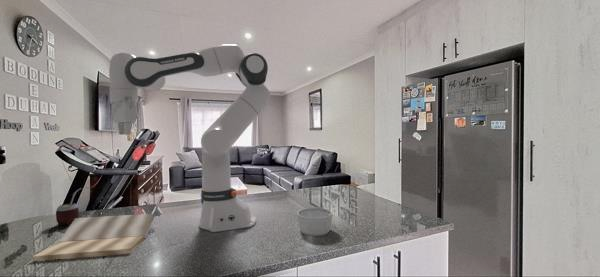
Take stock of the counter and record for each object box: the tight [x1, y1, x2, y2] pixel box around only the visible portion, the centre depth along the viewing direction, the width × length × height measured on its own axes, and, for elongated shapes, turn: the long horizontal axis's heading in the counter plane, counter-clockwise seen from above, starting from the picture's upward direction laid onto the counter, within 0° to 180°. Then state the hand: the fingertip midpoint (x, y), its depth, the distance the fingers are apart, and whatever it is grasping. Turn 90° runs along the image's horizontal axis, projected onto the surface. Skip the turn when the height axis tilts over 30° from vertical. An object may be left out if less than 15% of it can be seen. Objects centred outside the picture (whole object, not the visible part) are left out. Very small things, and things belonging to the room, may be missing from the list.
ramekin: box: [296, 207, 333, 237], centre depth 99 cm, size 13×13×7 cm
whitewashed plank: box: [58, 213, 155, 242], centre depth 94 cm, size 26×10×2 cm, turn 100°
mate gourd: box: [55, 187, 82, 228], centre depth 108 cm, size 8×8×15 cm
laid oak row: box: [32, 236, 145, 263], centre depth 84 cm, size 26×10×2 cm, turn 100°
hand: (124, 134), depth 99 cm, fingers open, 8 cm apart
